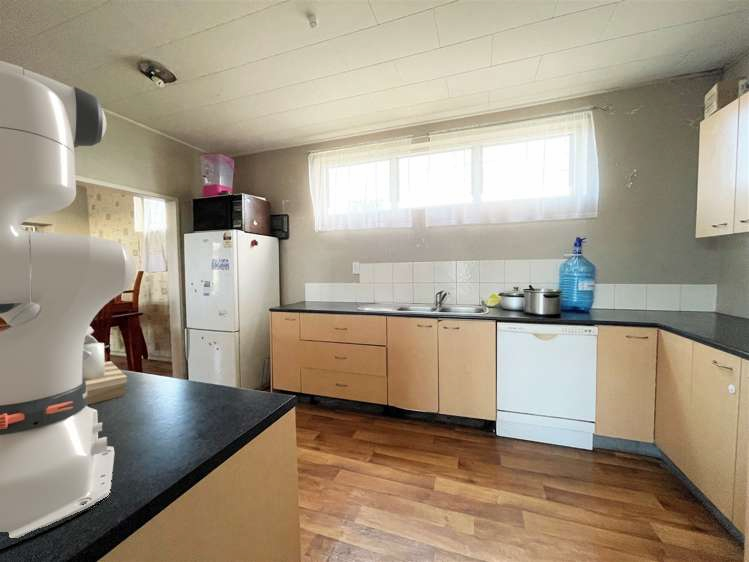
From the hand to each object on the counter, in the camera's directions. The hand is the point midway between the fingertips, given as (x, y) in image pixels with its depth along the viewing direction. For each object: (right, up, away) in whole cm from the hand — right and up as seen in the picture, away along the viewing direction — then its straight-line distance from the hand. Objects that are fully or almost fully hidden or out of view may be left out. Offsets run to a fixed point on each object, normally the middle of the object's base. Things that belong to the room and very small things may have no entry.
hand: (94, 352), depth 81 cm
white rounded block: (0, -6, 0) cm, 6 cm away
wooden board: (-4, -11, +2) cm, 12 cm away
